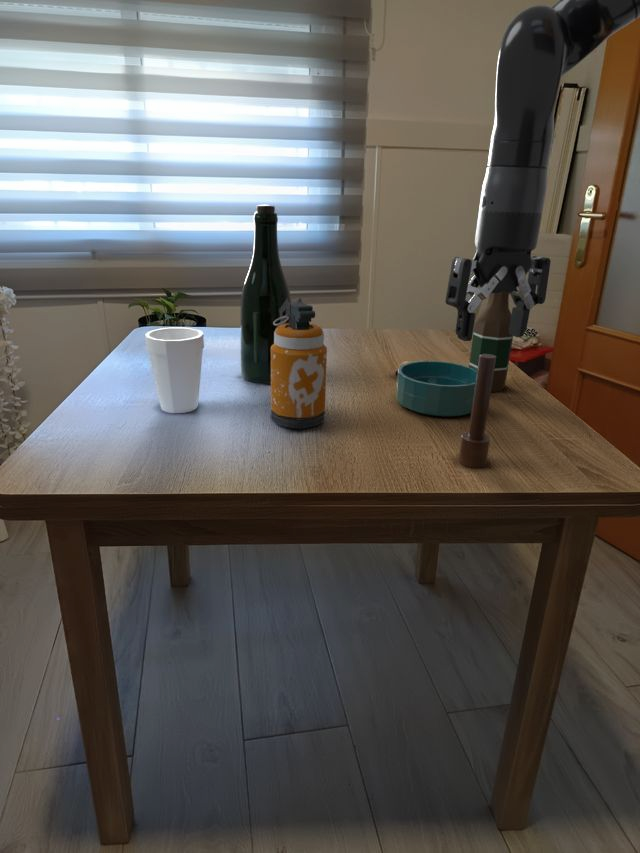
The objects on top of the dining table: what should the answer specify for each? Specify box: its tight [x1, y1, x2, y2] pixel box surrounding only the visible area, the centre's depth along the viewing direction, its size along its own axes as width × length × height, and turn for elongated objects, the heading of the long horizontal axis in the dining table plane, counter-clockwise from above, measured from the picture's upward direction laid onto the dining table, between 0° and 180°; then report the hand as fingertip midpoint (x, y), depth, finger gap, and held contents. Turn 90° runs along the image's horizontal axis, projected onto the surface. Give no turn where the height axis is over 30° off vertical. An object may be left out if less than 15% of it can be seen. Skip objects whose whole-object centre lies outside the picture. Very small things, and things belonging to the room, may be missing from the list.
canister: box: [270, 297, 328, 429], centre depth 93 cm, size 9×11×20 cm
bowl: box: [395, 360, 477, 418], centre depth 105 cm, size 15×15×6 cm
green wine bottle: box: [240, 204, 292, 384], centre depth 111 cm, size 10×10×33 cm
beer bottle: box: [468, 292, 514, 393], centre depth 112 cm, size 8×8×24 cm
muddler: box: [457, 354, 496, 469], centre depth 81 cm, size 4×4×16 cm
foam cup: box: [144, 327, 205, 414], centre depth 98 cm, size 10×9×13 cm
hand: (490, 337), depth 77 cm, fingers open, 8 cm apart
